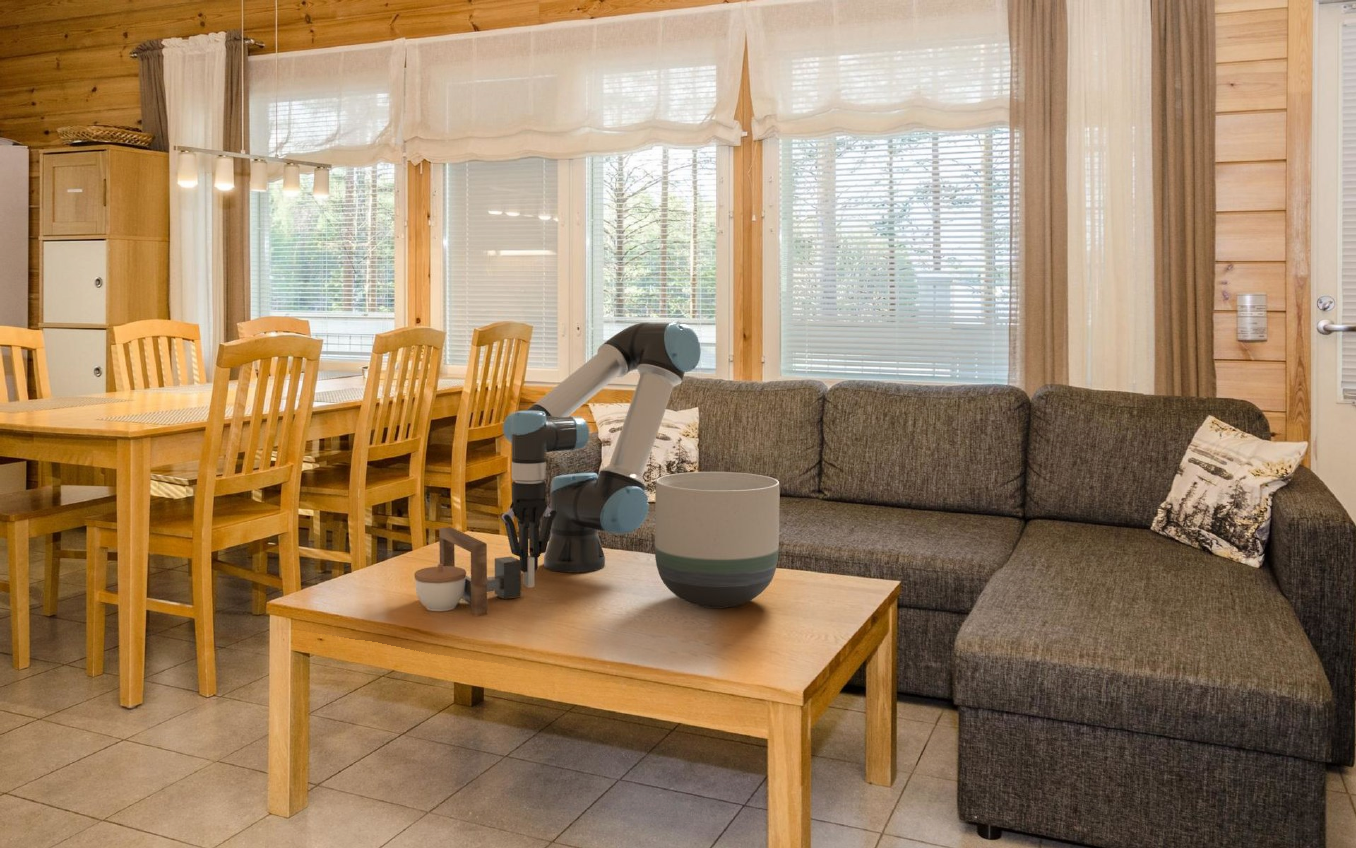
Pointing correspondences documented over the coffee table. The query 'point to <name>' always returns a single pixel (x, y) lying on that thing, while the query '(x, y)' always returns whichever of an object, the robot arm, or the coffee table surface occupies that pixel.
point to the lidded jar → (440, 587)
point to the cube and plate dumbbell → (501, 579)
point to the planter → (716, 536)
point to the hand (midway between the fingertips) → (528, 585)
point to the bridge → (478, 564)
